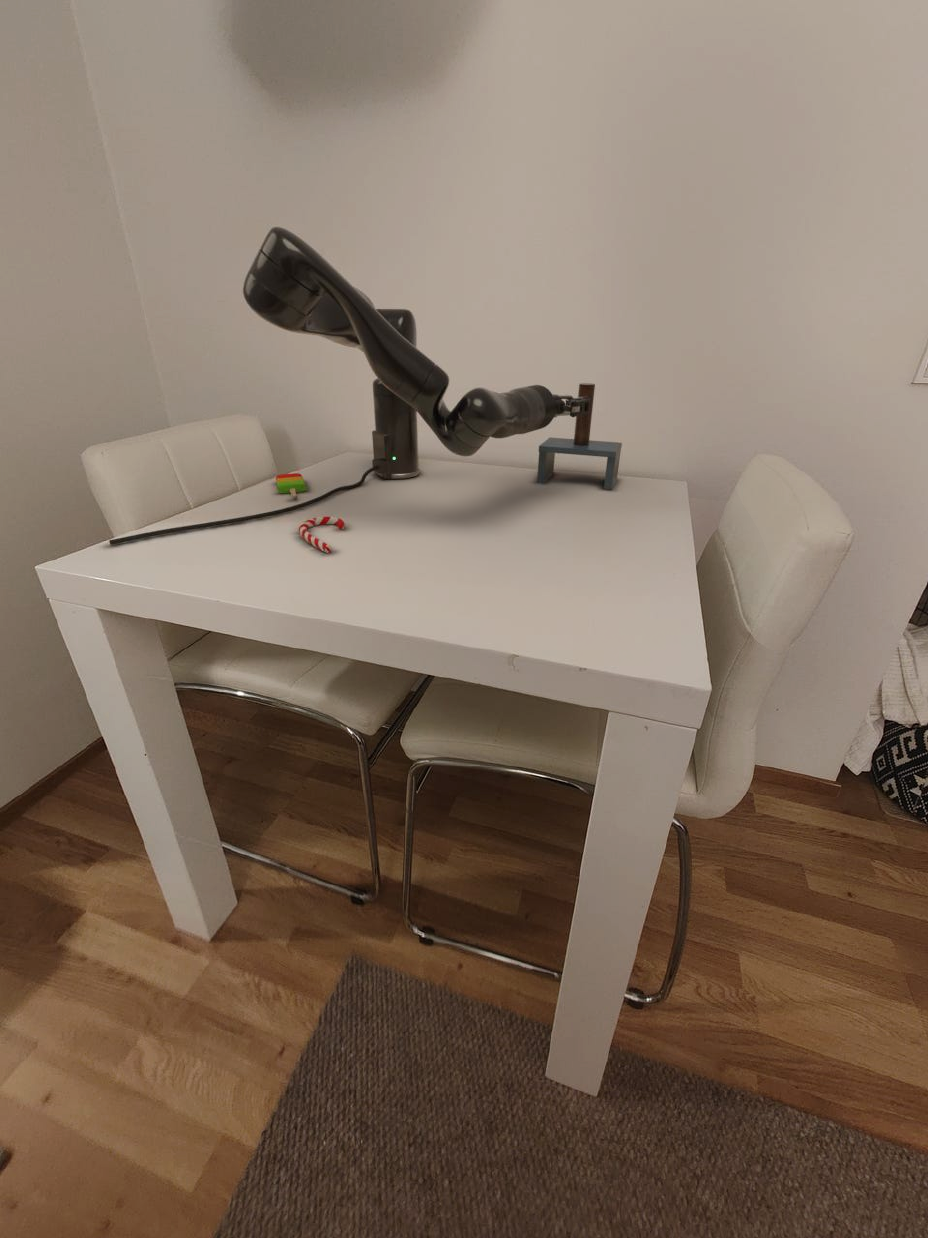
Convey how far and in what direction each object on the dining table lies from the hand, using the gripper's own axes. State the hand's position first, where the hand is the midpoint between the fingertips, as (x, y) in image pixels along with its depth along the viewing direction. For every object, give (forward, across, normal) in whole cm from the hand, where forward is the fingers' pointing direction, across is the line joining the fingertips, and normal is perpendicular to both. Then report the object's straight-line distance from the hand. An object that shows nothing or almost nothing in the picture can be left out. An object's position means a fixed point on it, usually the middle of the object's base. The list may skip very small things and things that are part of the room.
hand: (566, 399), depth 111 cm
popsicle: (-34, -44, -18) cm, 59 cm away
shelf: (+8, 0, -18) cm, 20 cm away
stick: (+8, 0, -10) cm, 13 cm away
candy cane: (-49, -18, -18) cm, 55 cm away
